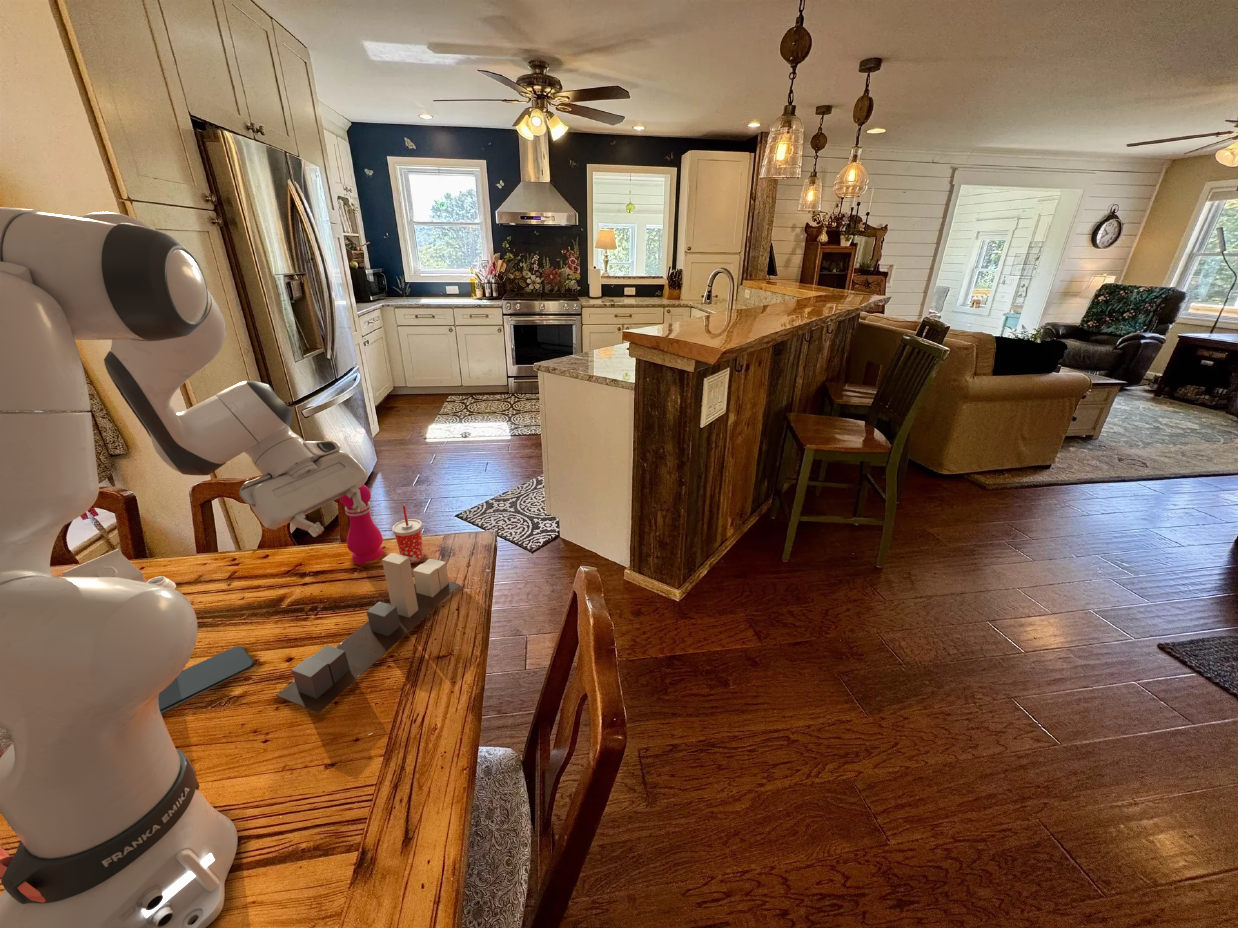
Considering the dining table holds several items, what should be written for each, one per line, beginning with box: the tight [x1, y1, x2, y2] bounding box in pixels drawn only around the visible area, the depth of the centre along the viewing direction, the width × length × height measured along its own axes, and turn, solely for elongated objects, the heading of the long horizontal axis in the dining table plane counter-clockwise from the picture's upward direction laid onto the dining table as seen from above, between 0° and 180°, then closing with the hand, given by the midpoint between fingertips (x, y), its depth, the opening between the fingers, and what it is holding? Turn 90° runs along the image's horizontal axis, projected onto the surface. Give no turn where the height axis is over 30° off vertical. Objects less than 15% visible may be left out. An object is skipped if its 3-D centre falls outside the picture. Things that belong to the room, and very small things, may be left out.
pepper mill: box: [339, 484, 384, 566], centre depth 108 cm, size 7×7×20 cm
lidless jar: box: [146, 575, 177, 590], centre depth 99 cm, size 5×3×5 cm
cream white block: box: [412, 558, 450, 597], centre depth 100 cm, size 5×4×6 cm
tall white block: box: [381, 552, 418, 618], centre depth 92 cm, size 2×4×12 cm, turn 70°
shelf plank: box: [276, 581, 461, 714], centre depth 89 cm, size 34×9×1 cm, turn 160°
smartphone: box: [158, 645, 255, 715], centre depth 78 cm, size 8×2×15 cm
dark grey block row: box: [290, 601, 400, 699], centre depth 83 cm, size 18×4×4 cm, turn 160°
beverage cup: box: [391, 504, 425, 563], centre depth 109 cm, size 6×6×14 cm
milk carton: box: [62, 548, 147, 583], centre depth 81 cm, size 7×7×19 cm
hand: (341, 521), depth 91 cm, fingers open, 8 cm apart
